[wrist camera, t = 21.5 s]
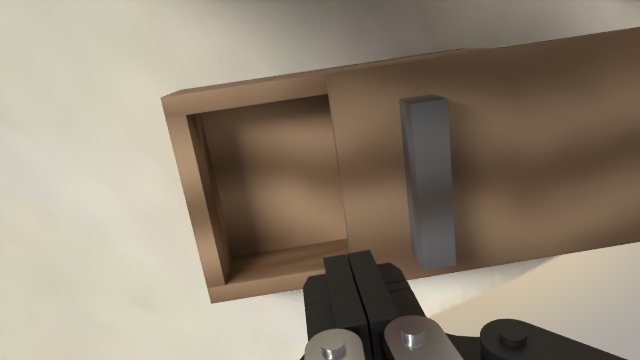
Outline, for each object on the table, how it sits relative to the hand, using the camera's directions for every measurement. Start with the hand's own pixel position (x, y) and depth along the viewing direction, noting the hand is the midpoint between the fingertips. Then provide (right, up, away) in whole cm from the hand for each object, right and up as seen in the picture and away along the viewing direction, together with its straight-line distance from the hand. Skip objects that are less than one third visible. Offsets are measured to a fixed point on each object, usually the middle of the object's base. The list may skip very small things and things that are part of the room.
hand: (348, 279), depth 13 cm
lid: (+10, +4, +14) cm, 18 cm away
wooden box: (0, +4, +19) cm, 19 cm away
